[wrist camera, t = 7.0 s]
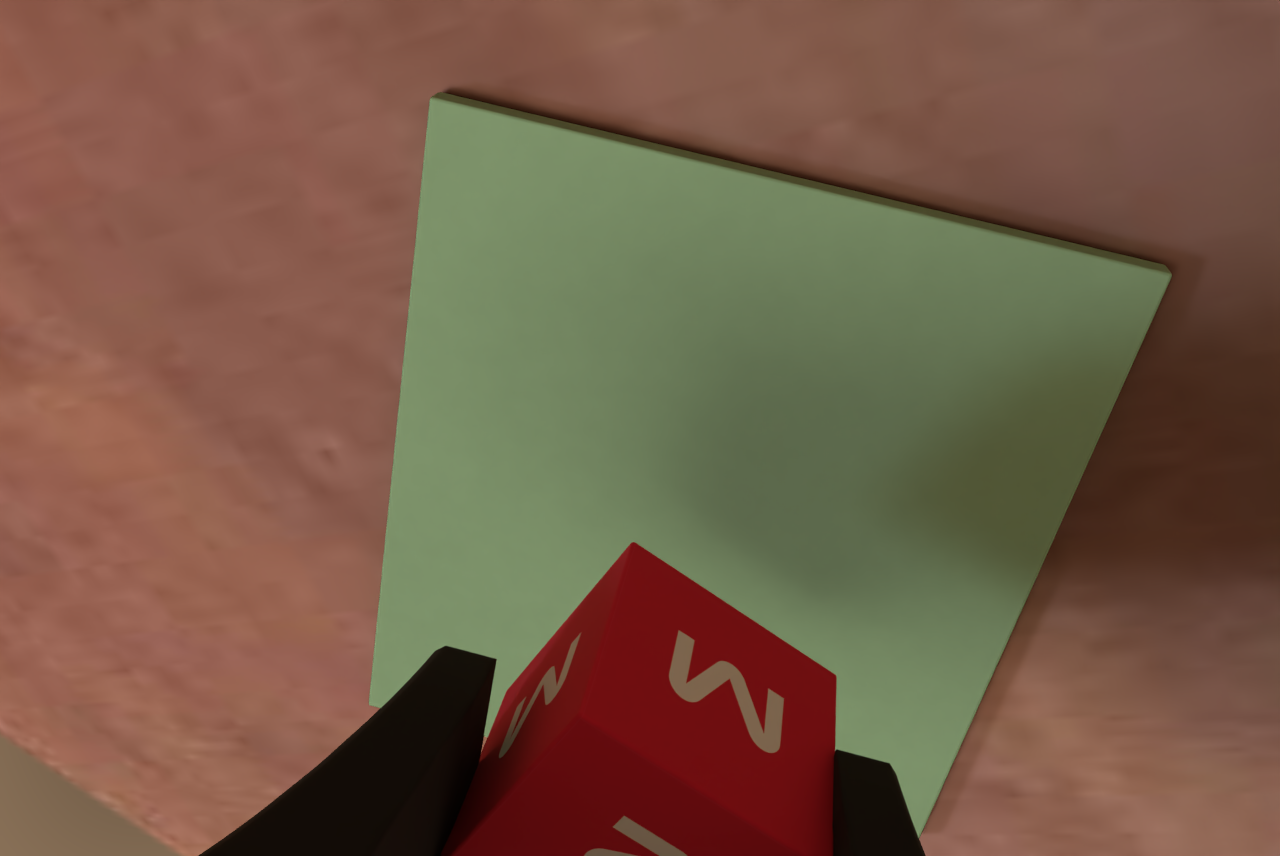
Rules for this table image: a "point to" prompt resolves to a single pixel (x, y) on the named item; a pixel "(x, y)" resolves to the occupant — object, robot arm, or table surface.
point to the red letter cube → (657, 734)
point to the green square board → (738, 414)
